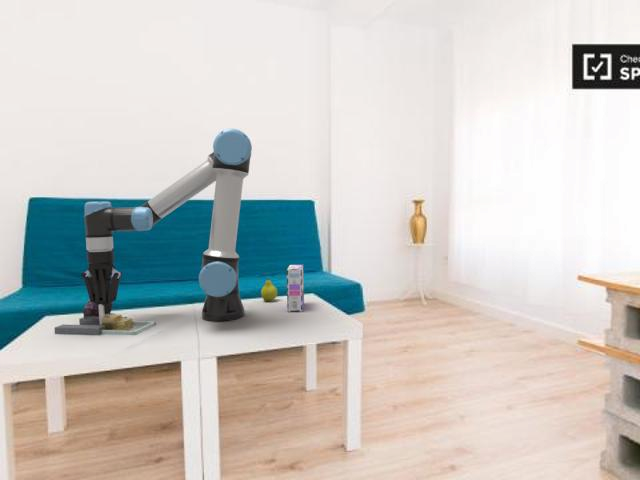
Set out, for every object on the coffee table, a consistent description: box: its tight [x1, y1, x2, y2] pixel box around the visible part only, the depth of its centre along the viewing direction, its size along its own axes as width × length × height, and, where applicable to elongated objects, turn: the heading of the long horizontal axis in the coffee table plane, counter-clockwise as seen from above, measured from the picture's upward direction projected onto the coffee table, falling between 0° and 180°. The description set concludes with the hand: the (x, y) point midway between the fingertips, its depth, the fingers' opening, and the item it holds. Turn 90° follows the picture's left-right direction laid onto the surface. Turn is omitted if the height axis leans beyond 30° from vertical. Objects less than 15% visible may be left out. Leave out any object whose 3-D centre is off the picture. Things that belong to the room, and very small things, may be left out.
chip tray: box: [101, 320, 157, 336], centre depth 131 cm, size 11×12×2 cm
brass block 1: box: [102, 314, 123, 330], centre depth 132 cm, size 4×4×4 cm
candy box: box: [286, 264, 305, 313], centre depth 162 cm, size 14×6×16 cm, turn 179°
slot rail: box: [54, 316, 128, 336], centre depth 133 cm, size 15×14×4 cm
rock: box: [82, 299, 114, 317], centre depth 149 cm, size 12×9×10 cm
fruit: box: [260, 273, 278, 302], centre depth 176 cm, size 7×7×12 cm
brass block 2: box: [113, 317, 134, 331], centre depth 131 cm, size 4×4×4 cm
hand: (104, 323), depth 132 cm, fingers closed
